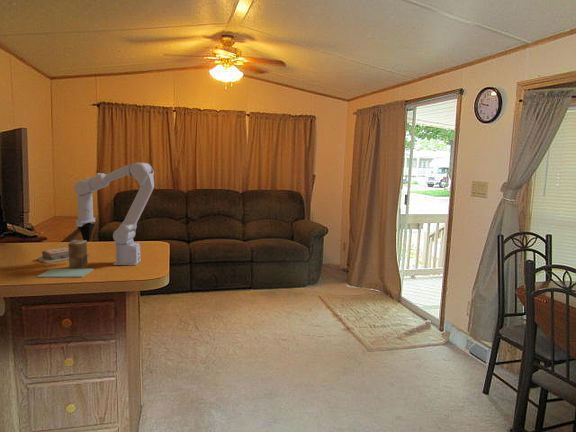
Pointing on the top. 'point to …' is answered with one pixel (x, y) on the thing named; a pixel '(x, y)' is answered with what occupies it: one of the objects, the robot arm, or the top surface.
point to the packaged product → (55, 255)
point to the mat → (65, 273)
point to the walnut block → (78, 254)
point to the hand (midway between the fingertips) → (86, 241)
